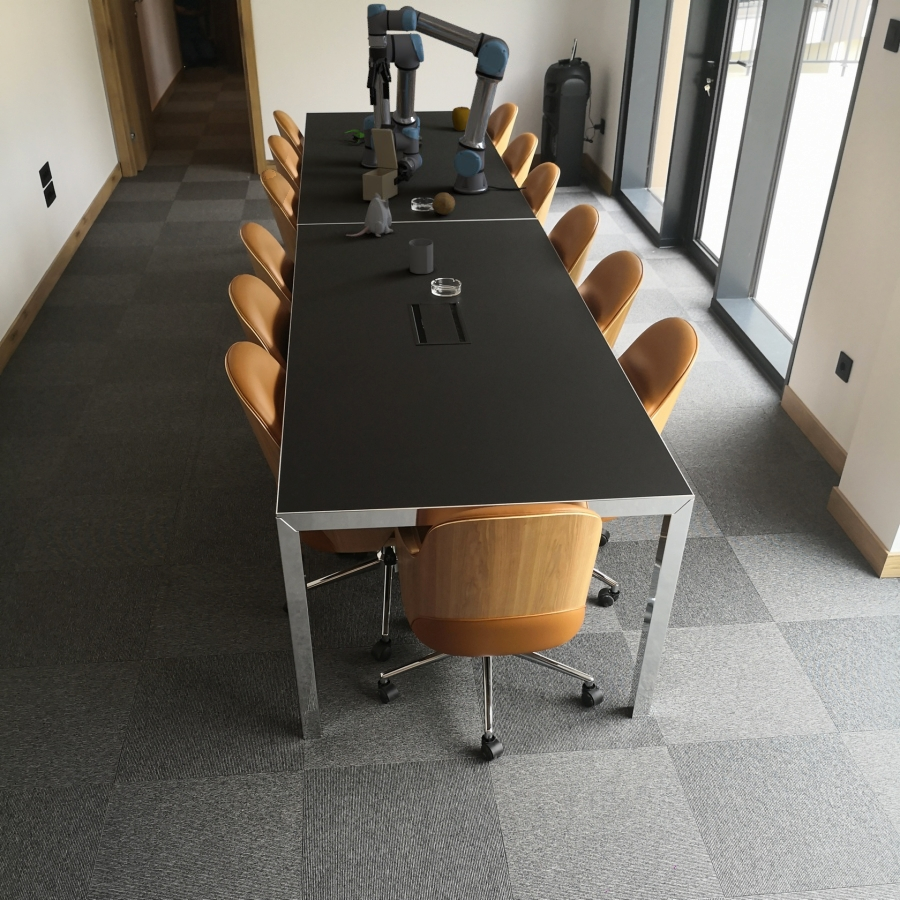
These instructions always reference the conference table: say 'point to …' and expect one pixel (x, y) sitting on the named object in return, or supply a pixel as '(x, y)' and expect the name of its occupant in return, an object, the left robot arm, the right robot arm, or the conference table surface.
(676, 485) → the conference table surface
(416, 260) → the cup
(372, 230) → the toy
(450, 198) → the potato
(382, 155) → the lid
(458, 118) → the apple
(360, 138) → the green dinosaur
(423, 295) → the conference table surface
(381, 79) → the left robot arm
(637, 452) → the conference table surface
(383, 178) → the chest
